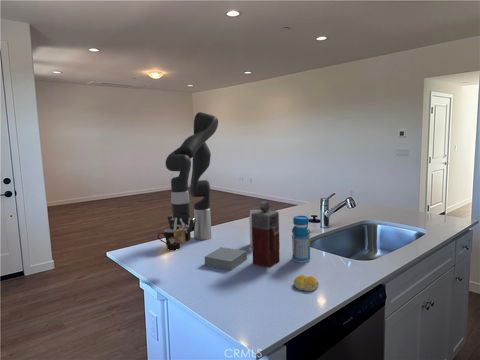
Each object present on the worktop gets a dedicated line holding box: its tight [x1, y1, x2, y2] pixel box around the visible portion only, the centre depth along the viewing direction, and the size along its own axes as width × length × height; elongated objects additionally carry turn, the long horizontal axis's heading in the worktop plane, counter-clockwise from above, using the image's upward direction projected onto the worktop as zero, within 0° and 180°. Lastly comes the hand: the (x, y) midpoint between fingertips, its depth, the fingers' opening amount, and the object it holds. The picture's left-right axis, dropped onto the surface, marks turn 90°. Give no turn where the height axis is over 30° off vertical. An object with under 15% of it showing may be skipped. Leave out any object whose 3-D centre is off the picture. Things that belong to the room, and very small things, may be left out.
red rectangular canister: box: [251, 201, 281, 269], centre depth 146 cm, size 9×11×28 cm
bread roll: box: [293, 274, 320, 292], centre depth 123 cm, size 8×9×4 cm
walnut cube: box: [174, 227, 192, 245], centre depth 141 cm, size 5×5×5 cm
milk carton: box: [248, 209, 261, 248], centre depth 171 cm, size 7×7×19 cm
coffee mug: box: [157, 227, 181, 251], centre depth 172 cm, size 12×9×10 cm
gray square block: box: [204, 246, 248, 271], centre depth 150 cm, size 14×14×4 cm
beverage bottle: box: [291, 214, 312, 263], centre depth 149 cm, size 8×8×20 cm
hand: (182, 240), depth 141 cm, fingers closed on walnut cube, 5 cm apart
